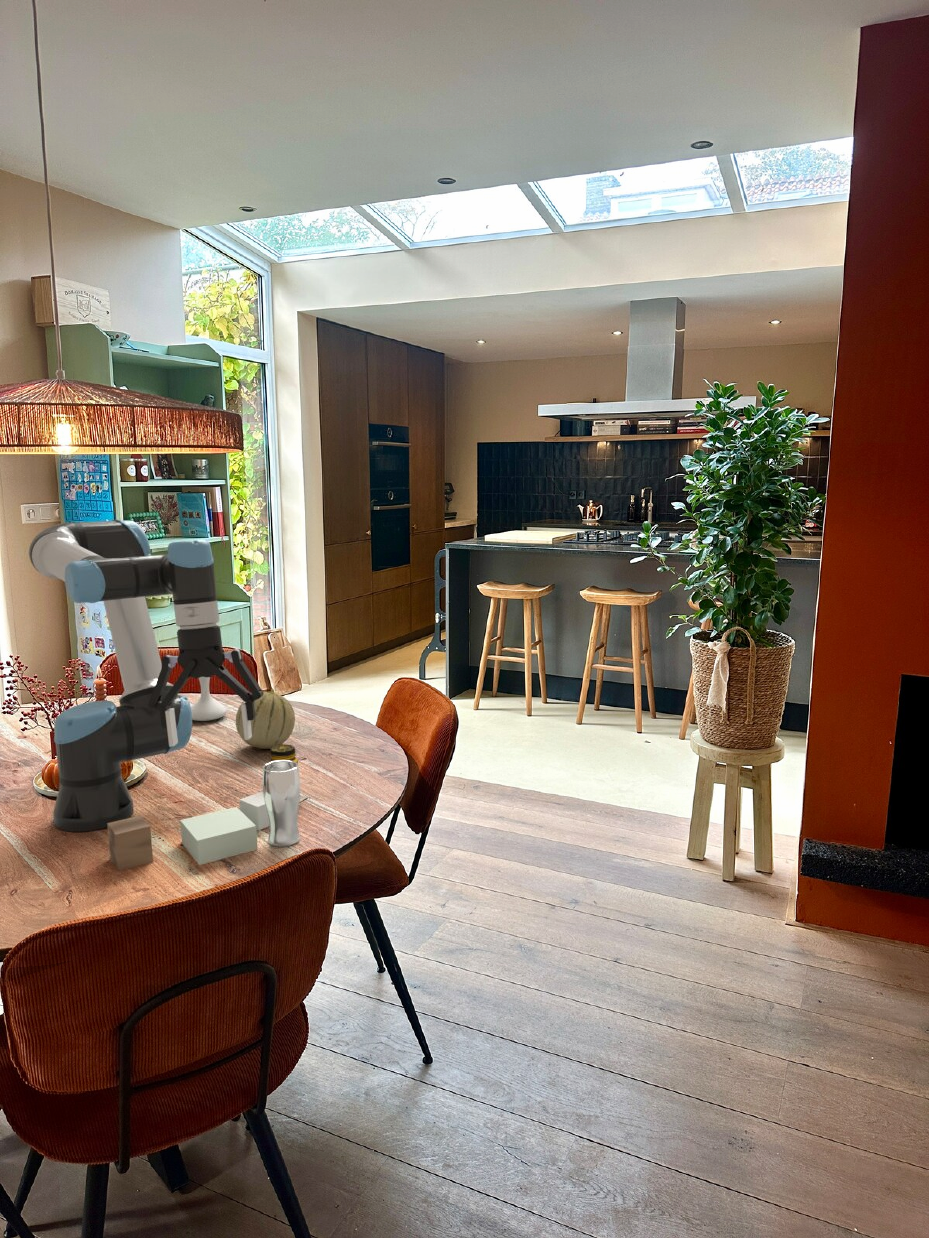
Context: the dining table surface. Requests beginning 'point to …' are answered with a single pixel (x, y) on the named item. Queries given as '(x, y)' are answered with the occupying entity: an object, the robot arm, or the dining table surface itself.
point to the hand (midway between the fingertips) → (211, 741)
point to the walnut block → (130, 842)
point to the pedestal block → (218, 835)
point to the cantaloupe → (268, 721)
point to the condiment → (284, 757)
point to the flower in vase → (207, 704)
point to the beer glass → (282, 801)
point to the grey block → (255, 810)
